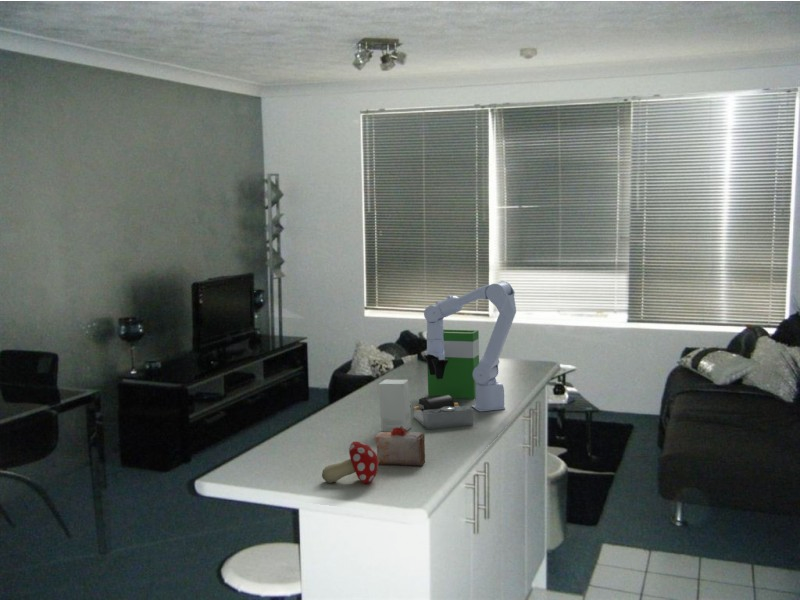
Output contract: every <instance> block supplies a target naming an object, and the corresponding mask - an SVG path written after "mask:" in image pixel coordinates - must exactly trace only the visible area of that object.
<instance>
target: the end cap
mask: <svg viewBox="0 0 800 600" xmlns="http://www.w3.org/2000/svg"><path fill="white" fill-rule="evenodd" d="M454 403H455V401H454V399H453V398H452V397H451V396H450V395H445V396H441V395H437V396H432V397H431V398H429V397H422V398H419V399H418V405H420V406H423V408H422V407H420V410H421V411H422V412H423V410H431V409H441V407H445V406H451V407H454Z"/></svg>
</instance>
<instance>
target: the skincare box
mask: <svg viewBox="0 0 800 600" xmlns="http://www.w3.org/2000/svg"><path fill="white" fill-rule="evenodd" d="M378 395H379V408H380V409H379V410H380V412H379V413H380V423H381V424H380V425H381V427H380V428H381V432H392V430H393V429H394V428H397V427H398V428H400V426H401V425H402V427H403V428H404V429H406V430H407V431H409V430H410V429H411V428H412V414H411V412H412V411H411V400H410V397H411V395H410V383H409V379H388V378H387V379H384V380H382V381H381V382H380V383H378Z"/></svg>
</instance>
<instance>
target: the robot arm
mask: <svg viewBox="0 0 800 600" xmlns="http://www.w3.org/2000/svg"><path fill="white" fill-rule="evenodd" d="M480 299H482V300H489V302H491V304H492V305H494V306H495V307H496V309H497V311H498V313H499V314H498V316H497V319H496V322H495V324H494V327H493V329H492V332H491V335H490V338H489V341H488V342H487V343H488V344H487V346H486V347H485V352H484V355H482V357H481V359H479V364H478V366H477V367H476V368H475V369H474V370H473V379H474V380H475V392H476V398H475V404H471V407H472V408H474V409H475V410H476V411H478V412H488V411H489V412H490V411H497V410H499V411H500V410H505V409H506V407H505V388H504V385H503V383H502V382H501V381H497V379H496V377H497V376H498V375H499V365H500V356H501V354H502V353H501V352H502V351H503V348H504V345H505V343H506V340H507V339H508V335H509V332H510V329H511V328H512V324H513V322H514V319H515V317H516V315H517V314H516V313H517V306H516V301H515V290H514V289H513V287H512V285H511V284H510V283H509V282H508V281H504V280H502V281H499V282H497V283H491V284H487V285H483V286H480V287H478V288H475V289H474V290H472V291H470V292H467V293H465V294H463V295H461V296H457V295H451V294H450V295H448V296H446V298H445V299H443V300H441V301H439V300H438V301H435V304H431V305H428V306H427V307H426V308H425V309H424V312H423V316H424V319H425V320H426V350H425V351H423V352H424V354H425V355H424V356H423V358H424V359H425V361H426V364H428V367H427V369H428V368H429V372H430V375H436V378H437V379H443V375H444V370H445V367H446V364H447V362H448V359H445V354H444V338H443V329H444V318H447V317H449V316H452V315H454V314H456V313H459V312H460V311H462V310H463V307H464V306H465V305H468V304H470V303H473V302H475V301H477V300H480ZM427 346H428V348H427ZM427 354H428V355H427Z"/></svg>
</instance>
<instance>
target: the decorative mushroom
mask: <svg viewBox="0 0 800 600" xmlns="http://www.w3.org/2000/svg"><path fill="white" fill-rule="evenodd" d="M348 453H349V457H350V458H349V459H346V460H344V461H342V462H339V463H334V464H330V465H327V466H325V467H324V469H322V473H321V478H322V479H323V480H324V481H325V482H326V483H330V484H332V483H335V482H338V481H339V480H341V479H343V478H344V477H346V476H350V475H352V474H355V475H356V477H357V478H358V480H359V481H360V482H361V483H363V484H370V483H372V482H373V480H374V478H375V477H376V475H377V472H378V469H379V464H378V458H377V452H375V451H374V449H373V448H372V447H371V446H370V445H368V444H367V443H364V442H360V441H353V442H352V443H350V445H349V448H348Z"/></svg>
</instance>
